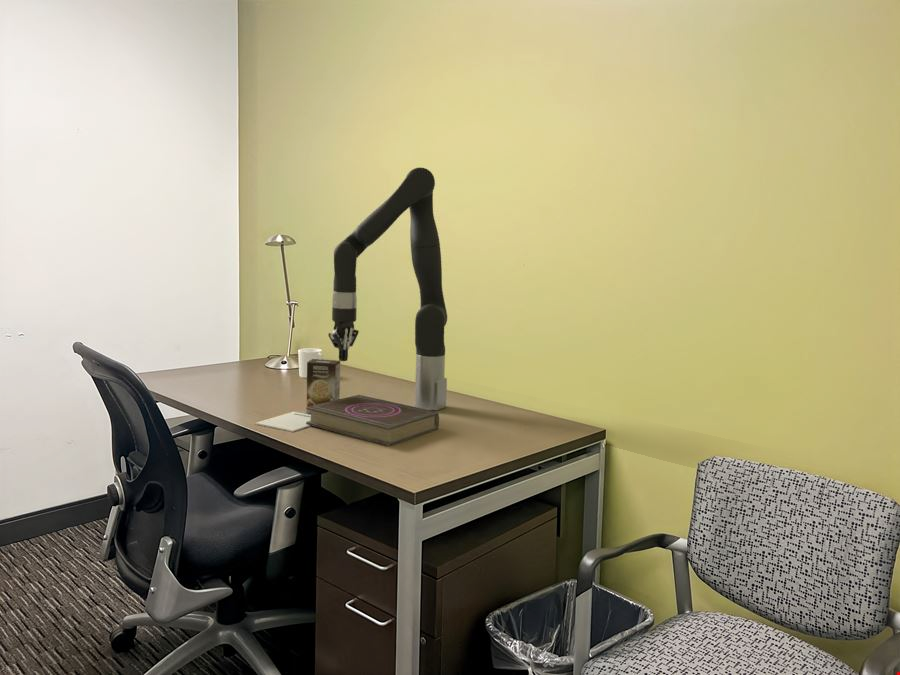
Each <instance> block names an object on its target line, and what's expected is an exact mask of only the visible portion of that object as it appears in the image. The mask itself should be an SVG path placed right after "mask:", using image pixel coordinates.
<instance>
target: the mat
mask: <svg viewBox="0 0 900 675" xmlns="http://www.w3.org/2000/svg"><path fill="white" fill-rule="evenodd" d="M310 419H311V414H306V413H303V412H297V411H291V412H288V413H284V414H279V415H277V416H274V417H270V418H268V419H264V420H261V421H257V422H255V425H256V424H257V426H261V427H262V426H263V427H267V428H271V429H277V430H282V431H285V430H286V432H290V433H295V432H297V431H301V430H303V429H307V428H309V427H313V426H312V425H308V424H306V422H308V421H310Z"/></svg>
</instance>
